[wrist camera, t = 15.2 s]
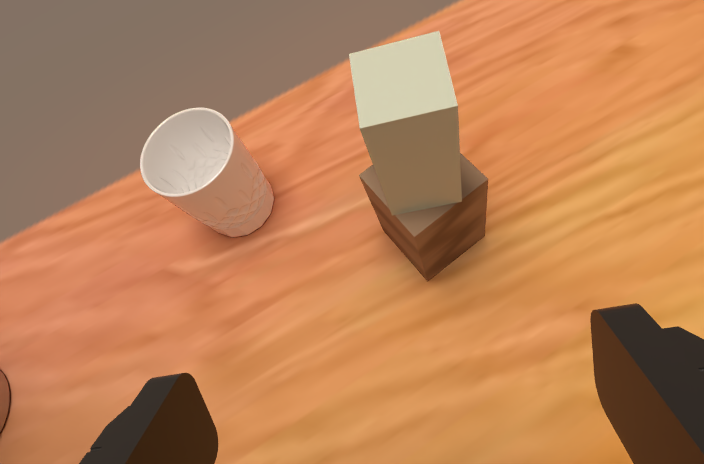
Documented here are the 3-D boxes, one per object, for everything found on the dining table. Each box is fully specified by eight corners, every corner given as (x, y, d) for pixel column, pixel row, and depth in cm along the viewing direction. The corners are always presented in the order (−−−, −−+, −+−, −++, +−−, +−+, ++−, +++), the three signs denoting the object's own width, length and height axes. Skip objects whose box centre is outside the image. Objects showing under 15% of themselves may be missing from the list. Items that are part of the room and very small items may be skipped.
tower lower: (427, 281, 40) (421, 261, 35) (383, 230, 42) (372, 205, 38) (484, 236, 40) (486, 211, 35) (437, 188, 42) (433, 159, 38)
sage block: (462, 201, 31) (457, 105, 22) (391, 215, 31) (359, 128, 22) (448, 142, 33) (439, 30, 24) (382, 156, 33) (349, 54, 24)
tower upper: (421, 262, 35) (414, 236, 31) (372, 206, 38) (359, 175, 33) (486, 211, 35) (488, 179, 31) (432, 159, 38) (427, 122, 33)
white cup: (237, 156, 49) (183, 93, 40) (296, 190, 46) (253, 130, 37) (188, 219, 47) (120, 169, 38) (246, 258, 44) (187, 213, 35)
